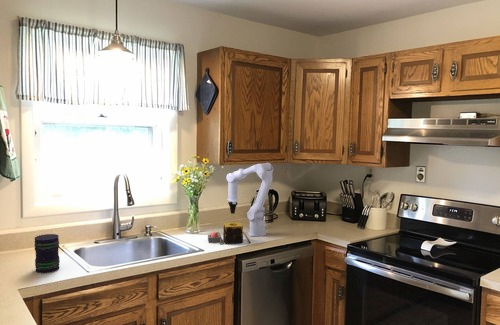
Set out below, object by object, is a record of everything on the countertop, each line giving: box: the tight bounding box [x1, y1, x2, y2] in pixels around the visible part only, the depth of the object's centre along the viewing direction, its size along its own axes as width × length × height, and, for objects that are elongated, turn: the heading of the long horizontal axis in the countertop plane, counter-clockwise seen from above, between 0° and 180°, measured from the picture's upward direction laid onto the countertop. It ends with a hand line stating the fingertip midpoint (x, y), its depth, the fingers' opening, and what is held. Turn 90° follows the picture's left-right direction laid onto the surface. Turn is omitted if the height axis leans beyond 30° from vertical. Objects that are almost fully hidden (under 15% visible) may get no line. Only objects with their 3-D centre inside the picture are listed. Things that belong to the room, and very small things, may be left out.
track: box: [215, 231, 252, 246], centre depth 243 cm, size 17×25×1 cm
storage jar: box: [34, 233, 60, 274], centre depth 186 cm, size 10×10×15 cm
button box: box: [207, 234, 222, 244], centre depth 236 cm, size 7×7×3 cm
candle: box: [222, 222, 244, 245], centre depth 235 cm, size 10×10×10 cm
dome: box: [210, 231, 218, 237], centre depth 236 cm, size 4×4×5 cm
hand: (232, 213), depth 262 cm, fingers closed
